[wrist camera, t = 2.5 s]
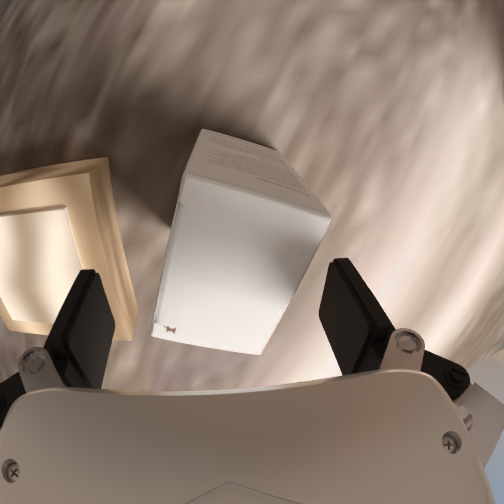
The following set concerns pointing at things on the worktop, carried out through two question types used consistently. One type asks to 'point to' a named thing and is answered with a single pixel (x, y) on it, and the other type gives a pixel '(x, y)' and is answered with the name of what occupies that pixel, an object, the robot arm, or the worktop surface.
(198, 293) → the small box
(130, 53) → the worktop surface
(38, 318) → the maple plinth
